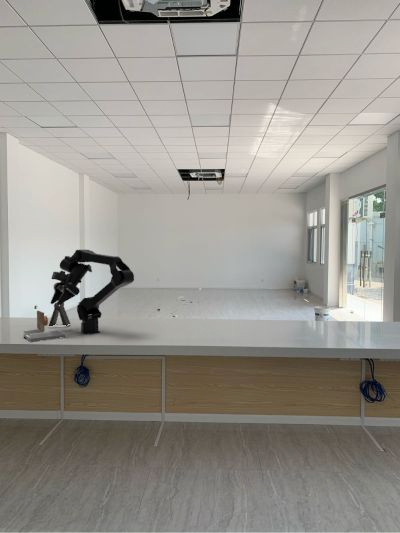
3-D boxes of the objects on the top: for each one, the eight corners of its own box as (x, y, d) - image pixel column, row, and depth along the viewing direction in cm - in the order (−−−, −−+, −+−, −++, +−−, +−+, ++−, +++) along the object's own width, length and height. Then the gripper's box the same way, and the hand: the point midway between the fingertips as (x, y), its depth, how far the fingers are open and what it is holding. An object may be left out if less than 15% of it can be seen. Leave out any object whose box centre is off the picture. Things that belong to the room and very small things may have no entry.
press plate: (43, 327, 171) (43, 310, 171) (49, 330, 165) (49, 312, 164) (37, 328, 169) (36, 310, 169) (42, 331, 163) (42, 313, 163)
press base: (57, 333, 176) (57, 326, 176) (65, 337, 167) (65, 330, 167) (23, 337, 168) (23, 330, 168) (30, 342, 159) (30, 334, 159)
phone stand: (70, 325, 195) (70, 300, 195) (67, 327, 189) (66, 302, 189) (52, 325, 195) (51, 301, 194) (48, 327, 189) (47, 302, 188)
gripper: (55, 265, 181) (33, 292, 175) (68, 263, 166) (45, 293, 160) (74, 279, 186) (53, 307, 180) (89, 279, 171) (66, 309, 165)
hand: (54, 304), depth 171 cm, fingers open, 9 cm apart
